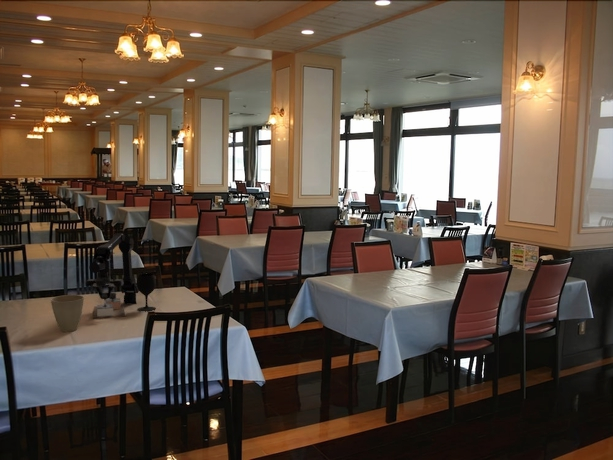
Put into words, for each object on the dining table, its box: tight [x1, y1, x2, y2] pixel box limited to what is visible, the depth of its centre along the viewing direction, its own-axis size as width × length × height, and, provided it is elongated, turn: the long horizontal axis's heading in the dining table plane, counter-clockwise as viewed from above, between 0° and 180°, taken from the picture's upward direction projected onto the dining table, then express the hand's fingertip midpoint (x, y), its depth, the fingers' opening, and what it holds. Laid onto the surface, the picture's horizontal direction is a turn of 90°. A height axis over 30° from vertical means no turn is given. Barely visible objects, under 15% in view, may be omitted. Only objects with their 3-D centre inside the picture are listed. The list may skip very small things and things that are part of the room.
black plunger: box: [100, 291, 108, 307], centre depth 302 cm, size 4×4×8 cm
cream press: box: [96, 304, 113, 317], centre depth 302 cm, size 8×8×4 cm
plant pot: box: [50, 294, 85, 333], centre depth 273 cm, size 15×15×16 cm
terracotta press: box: [106, 297, 121, 309], centre depth 317 cm, size 8×8×4 cm
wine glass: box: [136, 272, 157, 313], centre depth 316 cm, size 10×10×20 cm
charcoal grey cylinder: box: [109, 292, 117, 301], centre depth 317 cm, size 4×4×8 cm
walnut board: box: [92, 304, 126, 320], centre depth 310 cm, size 16×26×1 cm, turn 20°
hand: (105, 298), depth 302 cm, fingers closed on black plunger, 4 cm apart
